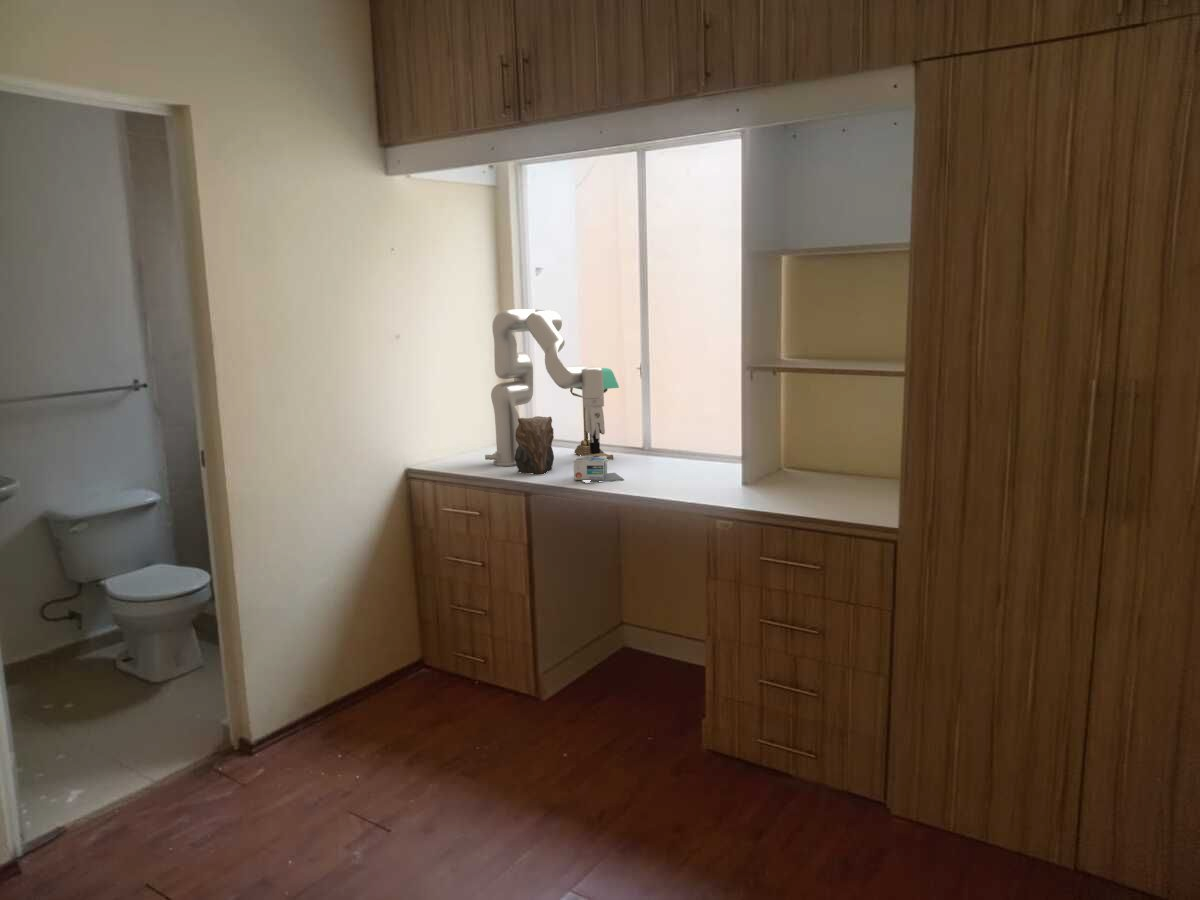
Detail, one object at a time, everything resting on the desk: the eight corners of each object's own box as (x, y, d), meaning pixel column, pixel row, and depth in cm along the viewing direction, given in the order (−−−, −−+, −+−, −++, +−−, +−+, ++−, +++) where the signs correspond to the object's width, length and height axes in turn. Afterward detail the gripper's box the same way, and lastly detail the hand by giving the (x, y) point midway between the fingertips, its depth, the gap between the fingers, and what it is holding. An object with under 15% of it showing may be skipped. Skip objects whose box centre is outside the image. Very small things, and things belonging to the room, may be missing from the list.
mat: (584, 483, 298) (584, 482, 297) (576, 476, 309) (576, 475, 309) (623, 480, 301) (623, 479, 301) (614, 473, 312) (614, 472, 312)
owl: (513, 472, 320) (510, 419, 317) (532, 466, 331) (530, 414, 327) (542, 475, 314) (539, 420, 310) (560, 468, 325) (558, 415, 321)
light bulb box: (607, 455, 310) (603, 460, 299) (607, 474, 311) (604, 480, 300) (577, 455, 311) (573, 461, 300) (578, 474, 312) (573, 480, 301)
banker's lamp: (601, 450, 358) (599, 366, 352) (623, 458, 340) (620, 369, 333) (566, 454, 352) (562, 368, 346) (586, 463, 333) (583, 372, 327)
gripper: (609, 404, 300) (610, 456, 303) (598, 399, 314) (600, 449, 318) (587, 405, 298) (589, 457, 302) (578, 400, 313) (580, 450, 316)
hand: (595, 453), depth 310 cm, fingers closed
